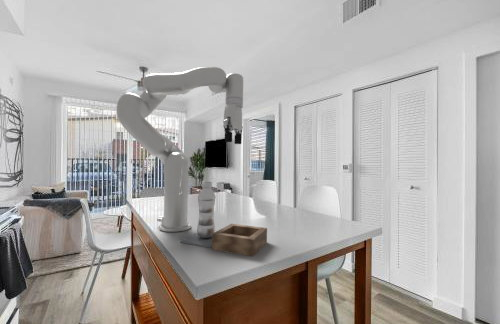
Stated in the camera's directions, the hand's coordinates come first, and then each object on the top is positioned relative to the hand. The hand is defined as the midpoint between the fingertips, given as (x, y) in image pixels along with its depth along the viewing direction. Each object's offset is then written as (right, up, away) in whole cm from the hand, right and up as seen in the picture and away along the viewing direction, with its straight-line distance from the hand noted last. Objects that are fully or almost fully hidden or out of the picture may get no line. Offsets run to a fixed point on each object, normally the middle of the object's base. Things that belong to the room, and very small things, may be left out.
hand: (233, 143), depth 104 cm
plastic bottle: (-9, -36, -17) cm, 41 cm away
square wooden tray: (+4, -36, -23) cm, 43 cm away
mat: (-9, -36, -18) cm, 41 cm away
